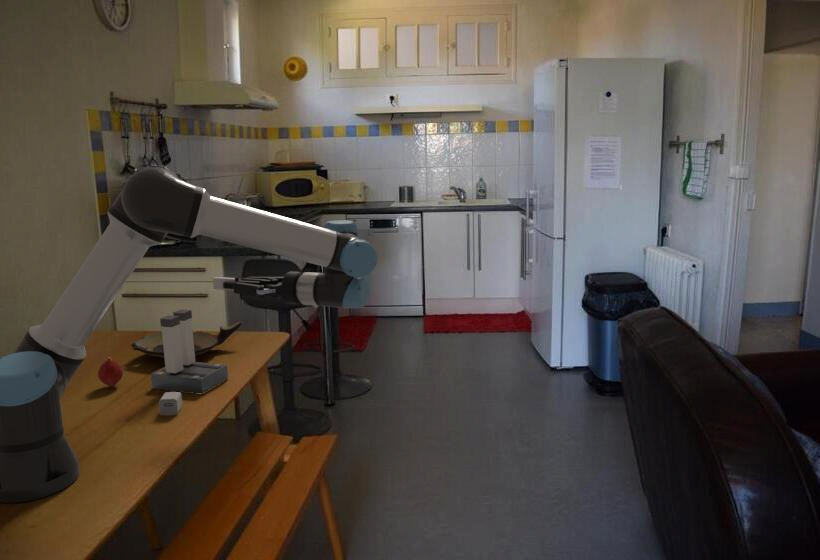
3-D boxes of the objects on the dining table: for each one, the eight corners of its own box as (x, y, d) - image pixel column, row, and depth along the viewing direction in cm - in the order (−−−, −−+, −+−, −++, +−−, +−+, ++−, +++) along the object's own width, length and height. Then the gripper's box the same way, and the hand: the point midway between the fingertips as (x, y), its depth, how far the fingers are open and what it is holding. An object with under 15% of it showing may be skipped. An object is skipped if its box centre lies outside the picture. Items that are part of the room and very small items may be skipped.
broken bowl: (144, 347, 206) (142, 322, 204) (244, 341, 210) (243, 317, 208) (124, 371, 184) (121, 344, 183) (236, 365, 188) (234, 338, 186)
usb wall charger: (160, 415, 154) (158, 399, 153) (167, 404, 160) (166, 388, 160) (178, 414, 154) (176, 398, 153) (185, 403, 161) (183, 387, 160)
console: (202, 394, 166) (201, 379, 165) (152, 388, 171) (150, 373, 170) (228, 379, 176) (226, 364, 175) (180, 374, 181) (178, 359, 180)
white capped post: (188, 365, 174) (183, 313, 171) (177, 364, 175) (173, 312, 172) (195, 361, 177) (191, 310, 174) (185, 360, 178) (181, 309, 175)
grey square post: (175, 373, 168) (170, 319, 165) (165, 372, 169) (160, 318, 166) (184, 369, 171) (179, 316, 168) (173, 368, 172) (168, 315, 169)
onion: (94, 388, 171) (91, 358, 169) (113, 381, 176) (110, 352, 174) (110, 392, 168) (106, 362, 167) (129, 385, 173) (126, 355, 172)
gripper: (290, 311, 148) (199, 304, 156) (316, 298, 160) (231, 292, 168) (288, 278, 147) (197, 272, 154) (315, 267, 159) (229, 262, 166)
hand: (215, 282), depth 161 cm, fingers closed
